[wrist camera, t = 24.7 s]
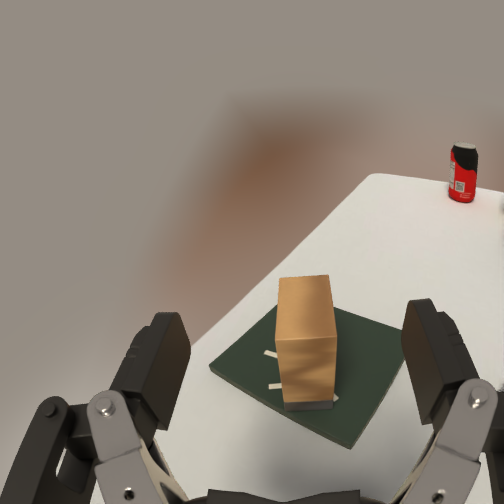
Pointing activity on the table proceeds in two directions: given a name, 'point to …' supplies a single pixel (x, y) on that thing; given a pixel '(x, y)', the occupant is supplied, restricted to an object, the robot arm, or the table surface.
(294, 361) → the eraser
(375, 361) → the slate board
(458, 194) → the beverage can
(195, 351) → the table surface
